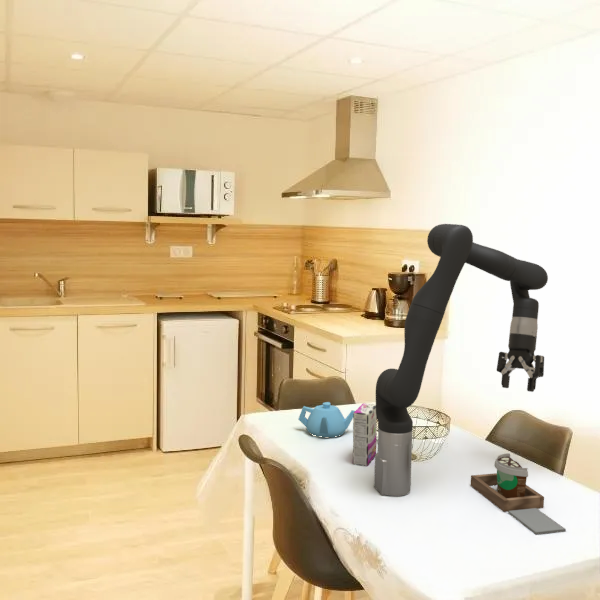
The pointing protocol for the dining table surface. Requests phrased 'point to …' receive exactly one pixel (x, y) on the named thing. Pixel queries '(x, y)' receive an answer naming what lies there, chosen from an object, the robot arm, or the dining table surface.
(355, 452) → the candy bar box
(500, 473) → the food container
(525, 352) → the robot arm
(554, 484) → the dining table surface
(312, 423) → the teapot
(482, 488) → the walnut frame
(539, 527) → the rubber mat
